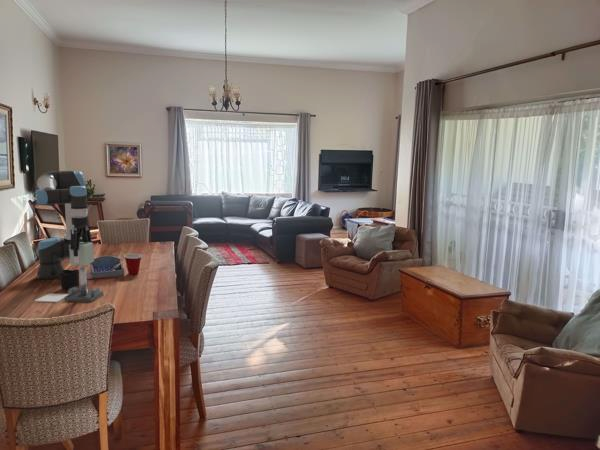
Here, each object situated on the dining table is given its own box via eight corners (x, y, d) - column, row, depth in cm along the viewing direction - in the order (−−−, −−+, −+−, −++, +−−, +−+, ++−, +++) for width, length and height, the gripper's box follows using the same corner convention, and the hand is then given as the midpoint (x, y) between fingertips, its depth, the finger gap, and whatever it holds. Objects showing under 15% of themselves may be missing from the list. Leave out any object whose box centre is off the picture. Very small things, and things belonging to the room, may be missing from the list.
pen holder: (67, 291, 238) (65, 273, 236) (57, 289, 243) (56, 271, 241) (83, 287, 246) (82, 270, 244) (73, 285, 251) (72, 268, 249)
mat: (34, 301, 221) (34, 300, 221) (49, 294, 233) (49, 293, 233) (57, 302, 220) (57, 301, 220) (71, 295, 232) (71, 294, 232)
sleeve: (70, 264, 222) (69, 245, 220) (79, 260, 230) (78, 242, 228) (85, 265, 221) (84, 245, 220) (94, 261, 229) (93, 242, 228)
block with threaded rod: (64, 300, 223) (62, 270, 220) (78, 293, 235) (76, 264, 232) (90, 301, 222) (89, 271, 219) (103, 294, 233) (101, 265, 231)
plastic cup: (136, 276, 271) (136, 257, 269) (121, 275, 273) (120, 256, 271) (146, 272, 281) (145, 253, 280) (131, 271, 283) (130, 253, 282)
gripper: (74, 219, 211) (77, 265, 215) (97, 214, 232) (100, 256, 235) (59, 219, 212) (62, 265, 215) (84, 213, 233) (86, 255, 236)
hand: (82, 260), depth 225 cm, fingers closed on sleeve, 8 cm apart
